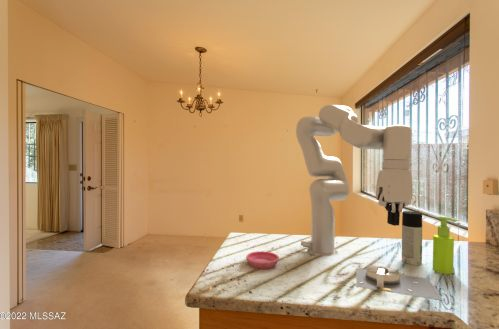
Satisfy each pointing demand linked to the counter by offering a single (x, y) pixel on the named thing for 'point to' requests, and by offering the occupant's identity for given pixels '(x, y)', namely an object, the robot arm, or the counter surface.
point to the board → (401, 285)
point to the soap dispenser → (443, 248)
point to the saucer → (262, 259)
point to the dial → (383, 275)
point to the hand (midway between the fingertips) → (393, 224)
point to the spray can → (412, 237)
